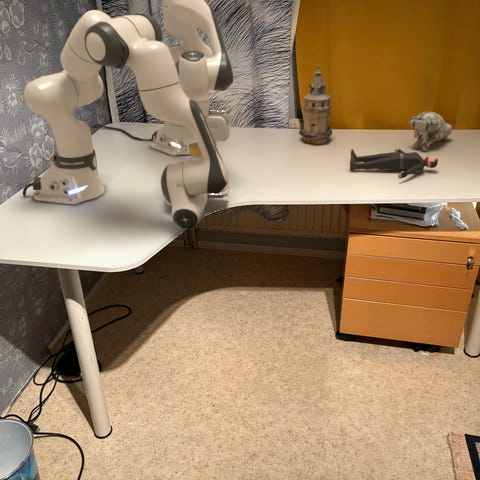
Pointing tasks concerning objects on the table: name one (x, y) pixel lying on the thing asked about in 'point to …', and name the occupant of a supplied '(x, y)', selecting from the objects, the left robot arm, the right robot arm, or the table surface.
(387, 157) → the toy
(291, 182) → the table surface
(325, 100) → the miniature building
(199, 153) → the lid
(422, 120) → the figurine
